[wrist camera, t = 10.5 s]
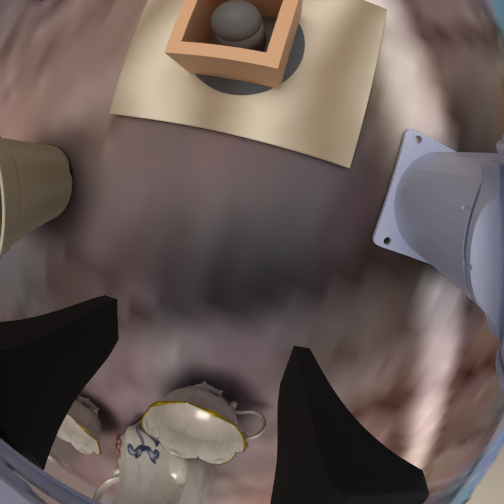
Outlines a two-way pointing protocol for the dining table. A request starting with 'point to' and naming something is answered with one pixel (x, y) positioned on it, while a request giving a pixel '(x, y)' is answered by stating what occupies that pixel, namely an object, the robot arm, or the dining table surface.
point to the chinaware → (165, 445)
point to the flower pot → (30, 188)
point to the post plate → (258, 96)
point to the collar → (232, 58)
